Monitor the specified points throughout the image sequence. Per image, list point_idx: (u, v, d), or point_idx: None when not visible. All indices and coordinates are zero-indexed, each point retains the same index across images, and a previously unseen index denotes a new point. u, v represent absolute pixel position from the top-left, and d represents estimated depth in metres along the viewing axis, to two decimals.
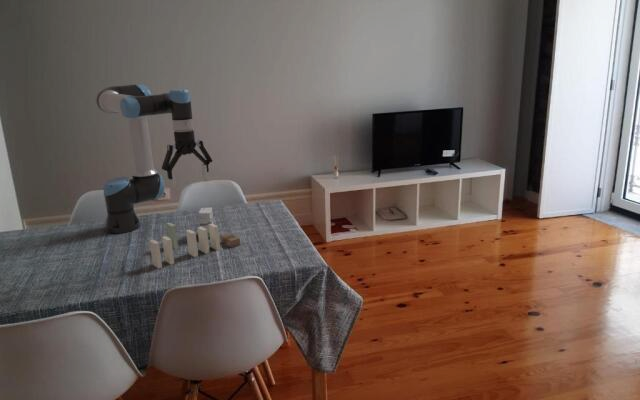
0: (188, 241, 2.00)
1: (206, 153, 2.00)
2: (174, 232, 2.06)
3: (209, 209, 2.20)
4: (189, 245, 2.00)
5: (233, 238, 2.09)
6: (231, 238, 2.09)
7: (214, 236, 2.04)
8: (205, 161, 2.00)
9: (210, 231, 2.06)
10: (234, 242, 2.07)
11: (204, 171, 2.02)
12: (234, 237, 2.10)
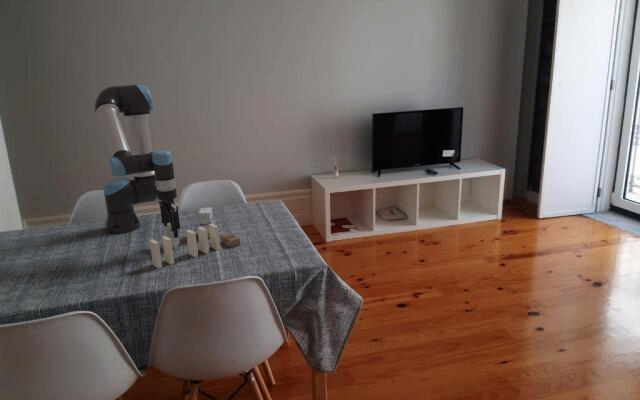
0: (188, 241, 2.00)
1: (172, 220, 2.02)
2: None
3: (209, 209, 2.20)
4: (189, 245, 2.00)
5: (233, 238, 2.09)
6: (231, 238, 2.09)
7: (214, 236, 2.04)
8: (171, 226, 2.04)
9: (210, 231, 2.06)
10: (234, 242, 2.07)
11: None
12: (234, 237, 2.10)
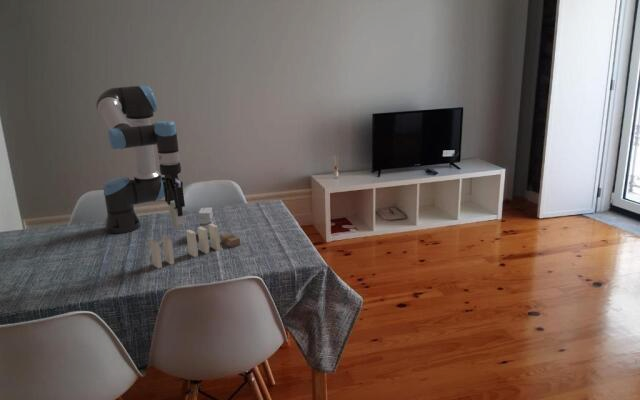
0: (188, 241, 2.00)
1: (176, 196, 1.86)
2: None
3: (209, 209, 2.20)
4: (189, 245, 2.00)
5: (233, 238, 2.09)
6: (231, 238, 2.09)
7: (214, 236, 2.04)
8: (175, 204, 1.88)
9: (210, 231, 2.06)
10: (234, 242, 2.07)
11: None
12: (234, 237, 2.10)
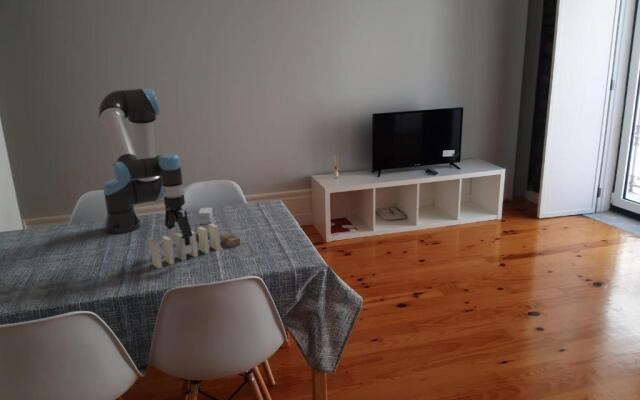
0: None
1: (182, 226, 1.87)
2: (182, 243, 1.94)
3: (209, 209, 2.20)
4: None
5: (233, 238, 2.09)
6: (231, 238, 2.09)
7: (214, 236, 2.04)
8: (182, 234, 1.89)
9: (210, 231, 2.06)
10: (234, 242, 2.07)
11: None
12: (234, 237, 2.10)
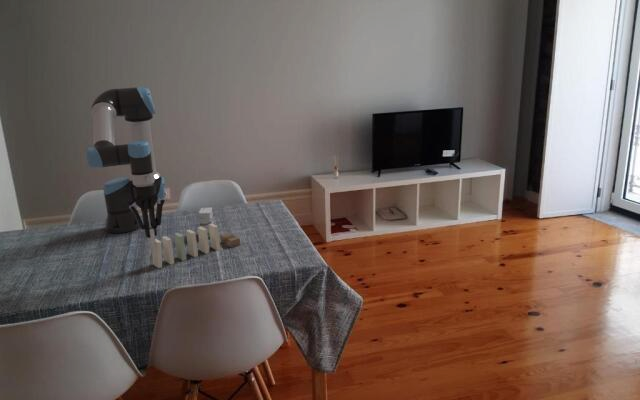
0: (188, 241, 2.00)
1: (160, 214, 1.87)
2: (182, 243, 1.94)
3: (209, 209, 2.20)
4: (189, 245, 2.00)
5: (233, 238, 2.09)
6: (231, 238, 2.09)
7: (214, 236, 2.04)
8: (154, 224, 1.87)
9: (210, 231, 2.06)
10: (234, 242, 2.07)
11: None
12: (234, 237, 2.10)
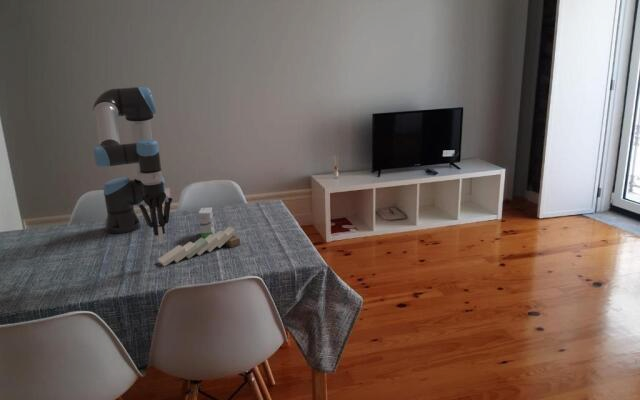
0: None
1: (168, 212, 1.89)
2: (202, 246, 2.00)
3: (209, 209, 2.20)
4: None
5: (233, 238, 2.09)
6: (231, 238, 2.09)
7: None
8: (162, 222, 1.89)
9: (225, 231, 2.10)
10: (234, 242, 2.07)
11: None
12: (234, 237, 2.10)
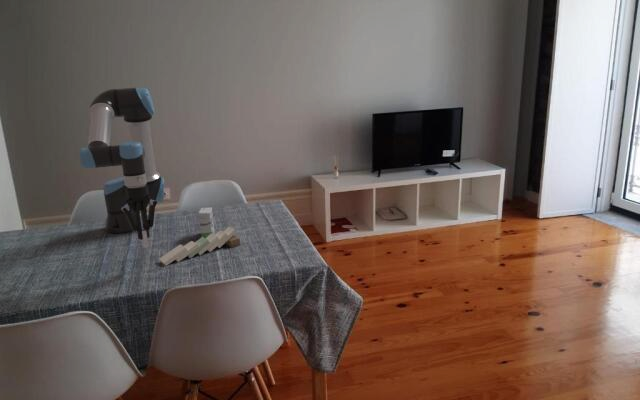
0: None
1: (152, 215, 1.86)
2: (203, 245, 2.00)
3: (209, 209, 2.20)
4: None
5: (233, 238, 2.09)
6: (231, 238, 2.09)
7: None
8: (146, 225, 1.85)
9: (225, 231, 2.10)
10: (234, 242, 2.07)
11: None
12: (234, 237, 2.10)
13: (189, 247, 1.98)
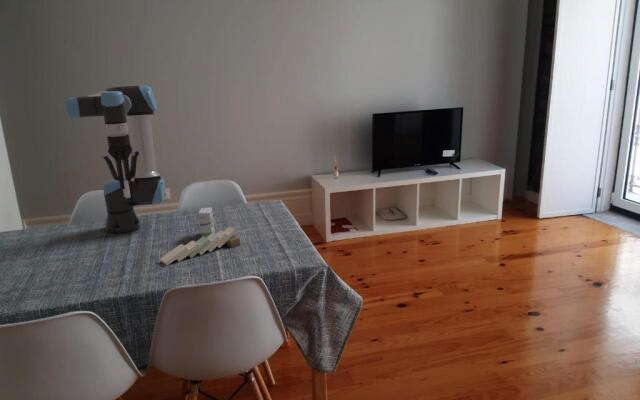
0: None
1: (134, 166, 1.88)
2: (204, 245, 2.01)
3: (209, 209, 2.20)
4: None
5: (233, 238, 2.09)
6: (231, 238, 2.09)
7: None
8: (128, 175, 1.87)
9: (225, 231, 2.10)
10: (234, 242, 2.07)
11: None
12: (234, 237, 2.10)
13: (190, 247, 1.98)
